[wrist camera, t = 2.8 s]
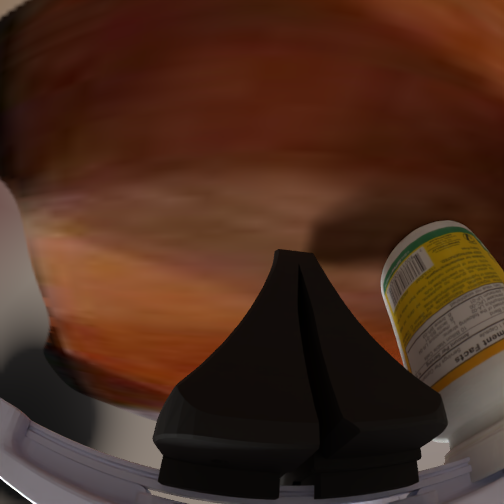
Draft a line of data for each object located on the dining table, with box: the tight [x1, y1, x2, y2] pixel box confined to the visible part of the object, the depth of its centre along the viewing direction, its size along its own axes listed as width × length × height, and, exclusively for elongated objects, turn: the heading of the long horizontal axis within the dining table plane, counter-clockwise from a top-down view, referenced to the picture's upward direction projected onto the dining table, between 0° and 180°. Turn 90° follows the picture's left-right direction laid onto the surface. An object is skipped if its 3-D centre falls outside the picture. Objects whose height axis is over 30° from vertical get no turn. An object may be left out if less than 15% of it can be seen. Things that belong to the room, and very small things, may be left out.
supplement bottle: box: [381, 220, 504, 483], centre depth 8 cm, size 5×5×10 cm
